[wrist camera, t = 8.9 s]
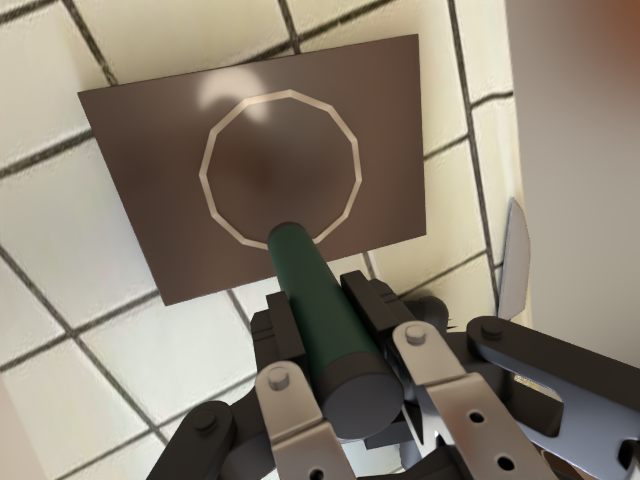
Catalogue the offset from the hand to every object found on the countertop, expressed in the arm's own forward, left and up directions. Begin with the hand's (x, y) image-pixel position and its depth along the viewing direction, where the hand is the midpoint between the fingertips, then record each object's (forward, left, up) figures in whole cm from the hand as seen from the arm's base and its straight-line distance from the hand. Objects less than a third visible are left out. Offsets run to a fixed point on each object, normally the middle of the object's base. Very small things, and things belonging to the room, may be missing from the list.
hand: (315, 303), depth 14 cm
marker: (0, 0, -6) cm, 6 cm away
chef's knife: (+20, -14, -14) cm, 28 cm away
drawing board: (+1, +2, -13) cm, 14 cm away
